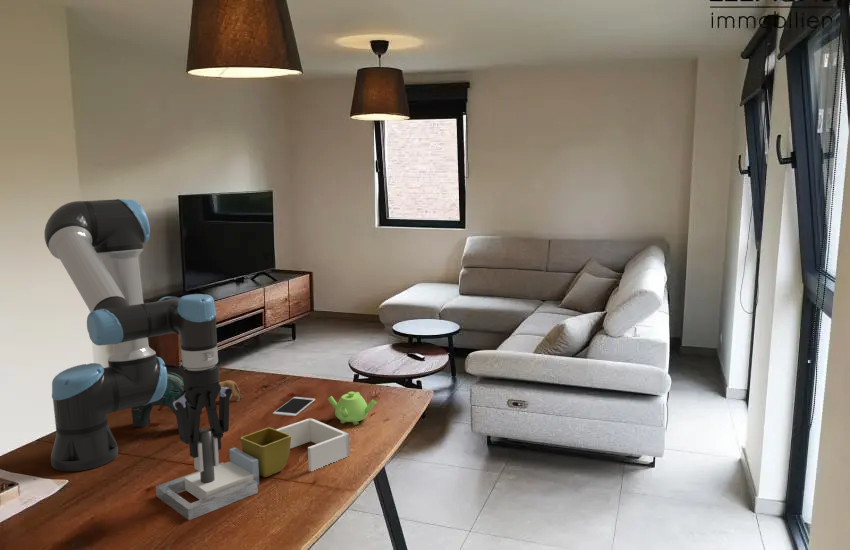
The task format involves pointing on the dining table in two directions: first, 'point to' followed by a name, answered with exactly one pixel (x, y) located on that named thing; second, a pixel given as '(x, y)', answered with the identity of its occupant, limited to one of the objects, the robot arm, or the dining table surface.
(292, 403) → the smartphone
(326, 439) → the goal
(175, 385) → the teal arched figure
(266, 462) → the flower pot
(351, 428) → the dining table surface
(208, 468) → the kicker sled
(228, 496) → the rail base
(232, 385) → the lion figurine
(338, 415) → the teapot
